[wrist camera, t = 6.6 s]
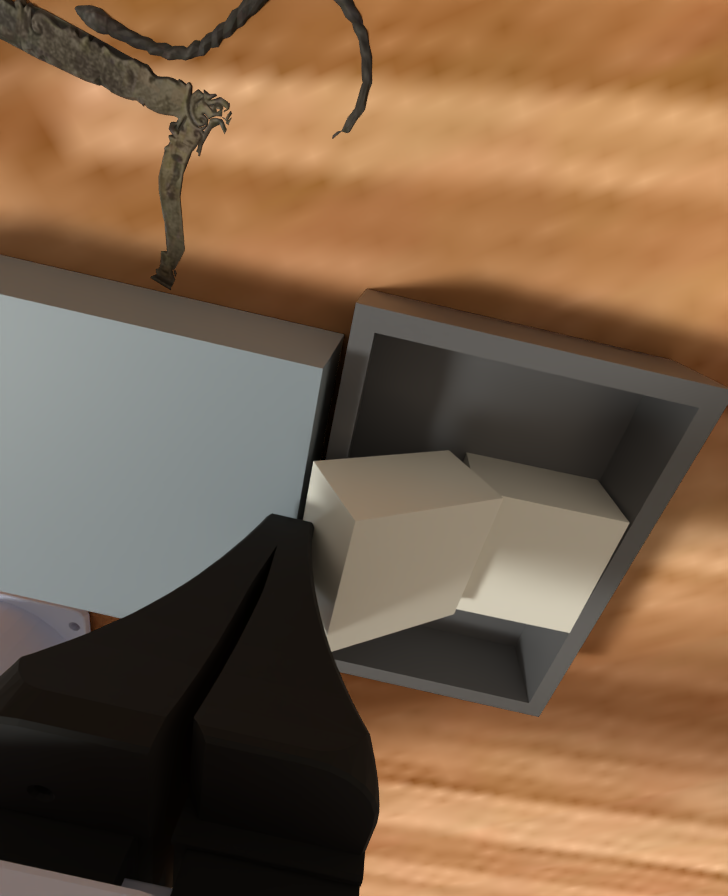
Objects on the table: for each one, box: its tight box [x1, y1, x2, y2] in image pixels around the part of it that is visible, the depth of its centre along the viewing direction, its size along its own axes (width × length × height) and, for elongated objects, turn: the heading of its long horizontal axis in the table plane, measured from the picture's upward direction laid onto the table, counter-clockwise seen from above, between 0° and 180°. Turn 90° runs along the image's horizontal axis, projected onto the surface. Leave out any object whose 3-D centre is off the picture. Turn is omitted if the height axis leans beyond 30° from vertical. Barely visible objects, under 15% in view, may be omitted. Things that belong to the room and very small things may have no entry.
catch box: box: [325, 289, 728, 717], centre depth 15 cm, size 13×10×3 cm
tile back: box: [456, 452, 629, 633], centre depth 15 cm, size 4×4×2 cm
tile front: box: [303, 450, 503, 652], centre depth 13 cm, size 4×4×2 cm
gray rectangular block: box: [0, 255, 344, 618], centre depth 15 cm, size 10×14×4 cm
